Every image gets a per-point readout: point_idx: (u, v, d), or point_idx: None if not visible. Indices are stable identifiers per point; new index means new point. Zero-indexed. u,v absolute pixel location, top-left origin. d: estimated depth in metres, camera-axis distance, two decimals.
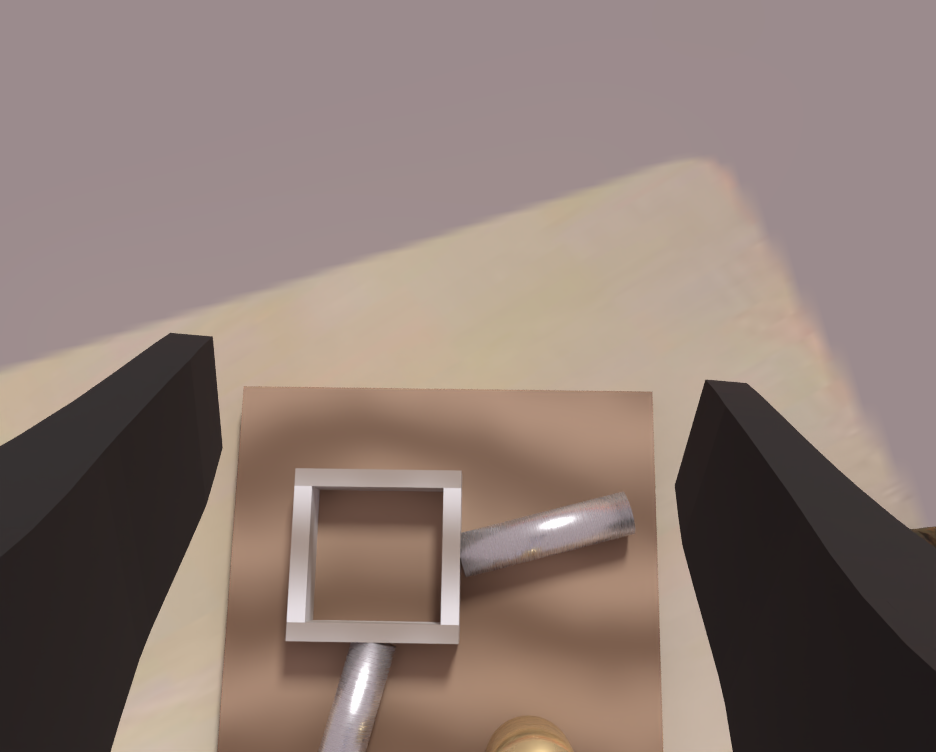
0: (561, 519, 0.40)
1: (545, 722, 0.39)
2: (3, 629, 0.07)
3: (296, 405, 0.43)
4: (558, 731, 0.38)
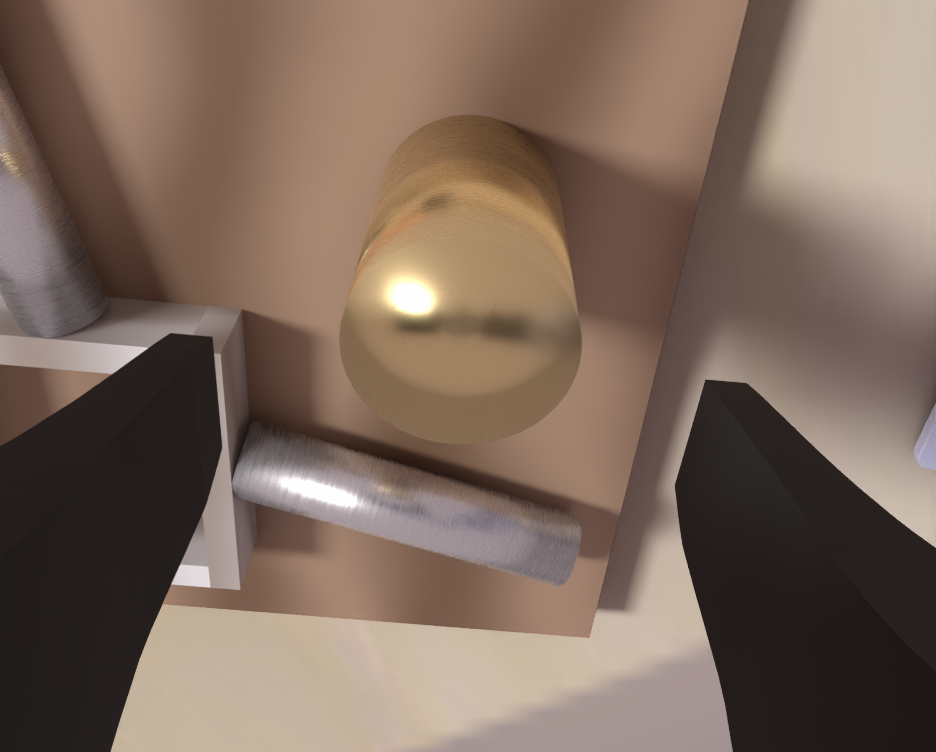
0: None
1: (380, 187, 0.18)
2: (2, 629, 0.07)
3: None
4: (391, 174, 0.17)
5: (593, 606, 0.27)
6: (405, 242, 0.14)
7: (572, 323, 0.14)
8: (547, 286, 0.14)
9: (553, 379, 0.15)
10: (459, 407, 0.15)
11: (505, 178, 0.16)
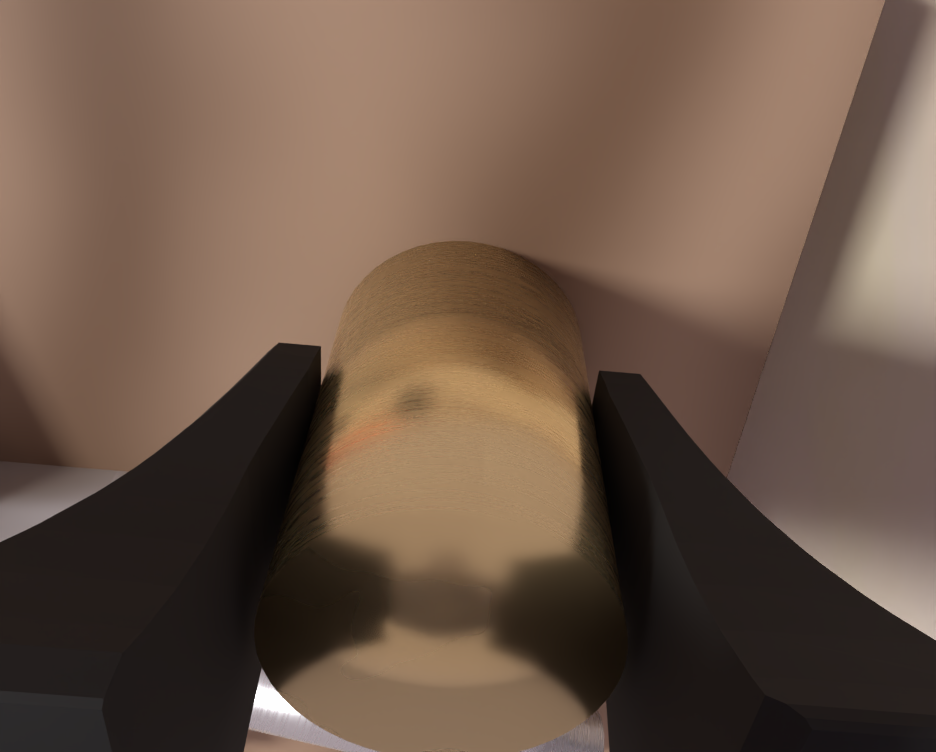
0: None
1: (334, 343, 0.13)
2: (186, 643, 0.07)
3: None
4: (347, 334, 0.12)
5: None
6: (351, 509, 0.09)
7: (614, 622, 0.09)
8: (577, 577, 0.09)
9: (582, 688, 0.10)
10: (440, 718, 0.10)
11: (508, 364, 0.11)
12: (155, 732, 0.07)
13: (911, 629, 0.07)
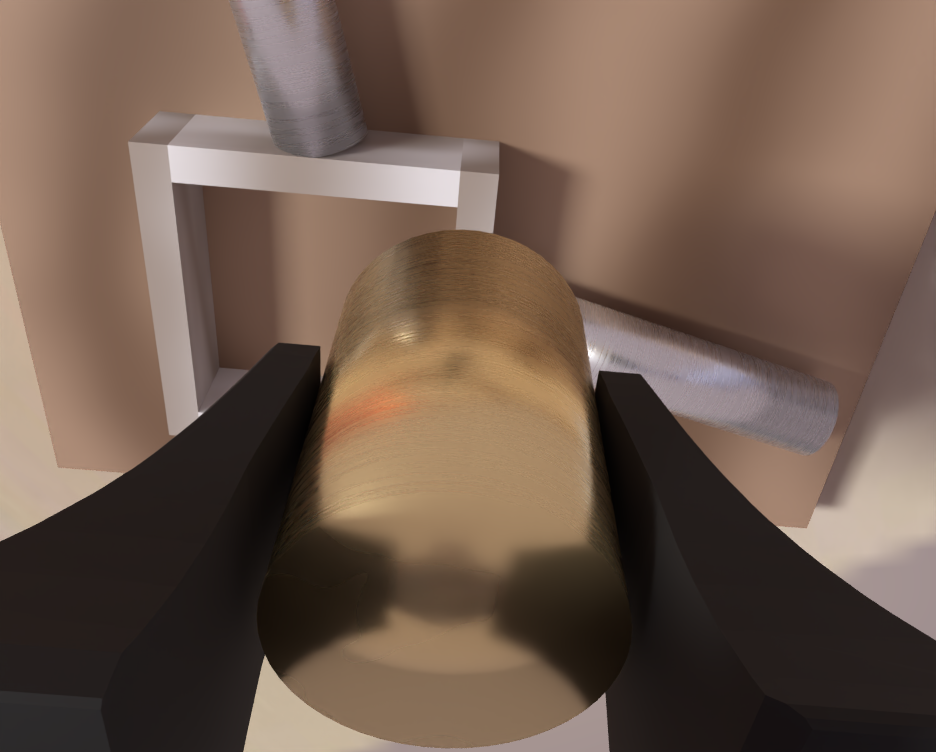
0: None
1: (339, 326, 0.13)
2: (186, 643, 0.07)
3: (74, 395, 0.24)
4: (354, 317, 0.12)
5: (817, 491, 0.25)
6: (364, 490, 0.09)
7: (619, 613, 0.09)
8: (587, 566, 0.09)
9: (582, 678, 0.10)
10: (438, 705, 0.10)
11: (519, 353, 0.11)
12: (154, 732, 0.07)
13: (911, 629, 0.07)
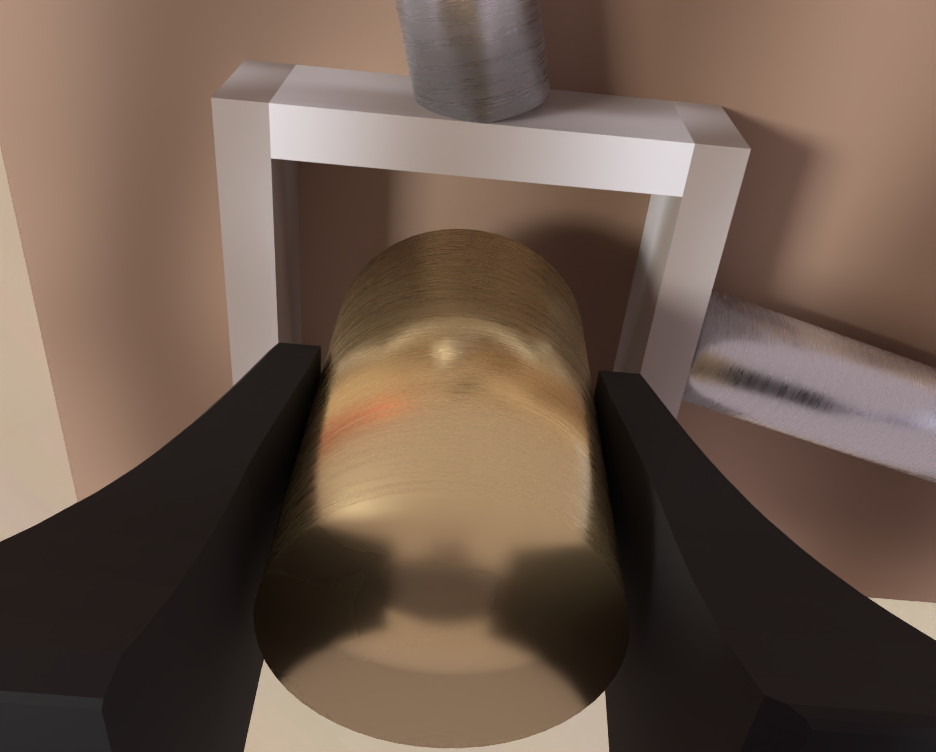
0: None
1: (337, 324, 0.13)
2: (186, 643, 0.07)
3: (109, 444, 0.18)
4: (353, 315, 0.12)
5: None
6: (363, 488, 0.09)
7: (617, 615, 0.09)
8: (585, 566, 0.09)
9: (579, 679, 0.10)
10: (434, 705, 0.10)
11: (518, 353, 0.11)
12: (155, 732, 0.07)
13: (911, 629, 0.07)
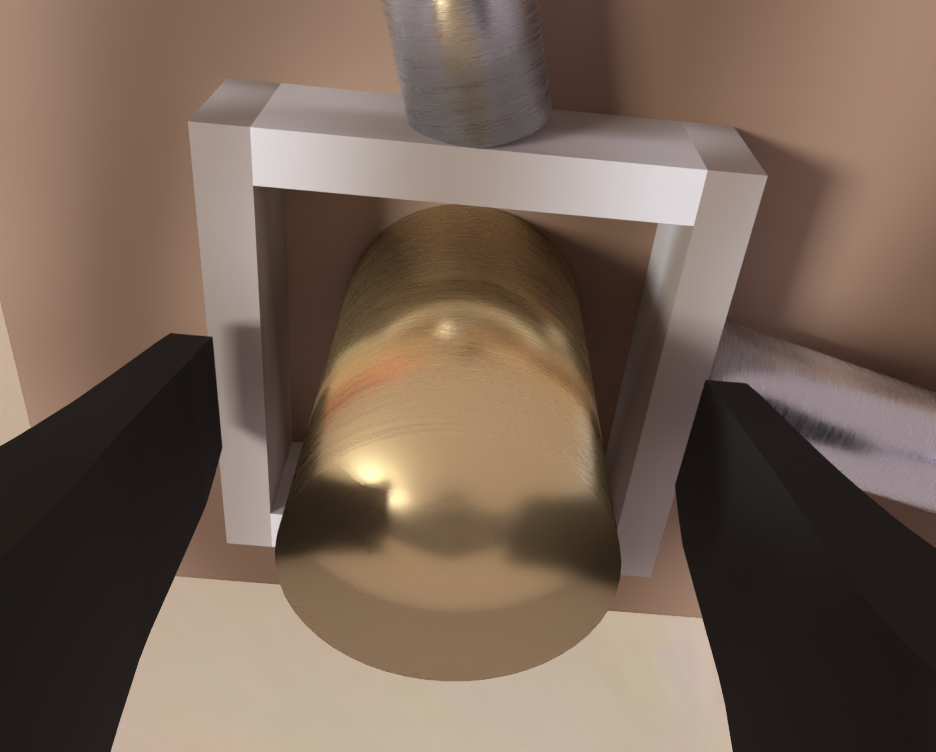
0: None
1: (347, 293, 0.14)
2: (3, 629, 0.07)
3: None
4: (363, 284, 0.13)
5: None
6: (377, 430, 0.09)
7: (610, 549, 0.10)
8: (580, 504, 0.10)
9: (575, 613, 0.11)
10: (441, 638, 0.11)
11: (518, 315, 0.11)
12: None
13: None
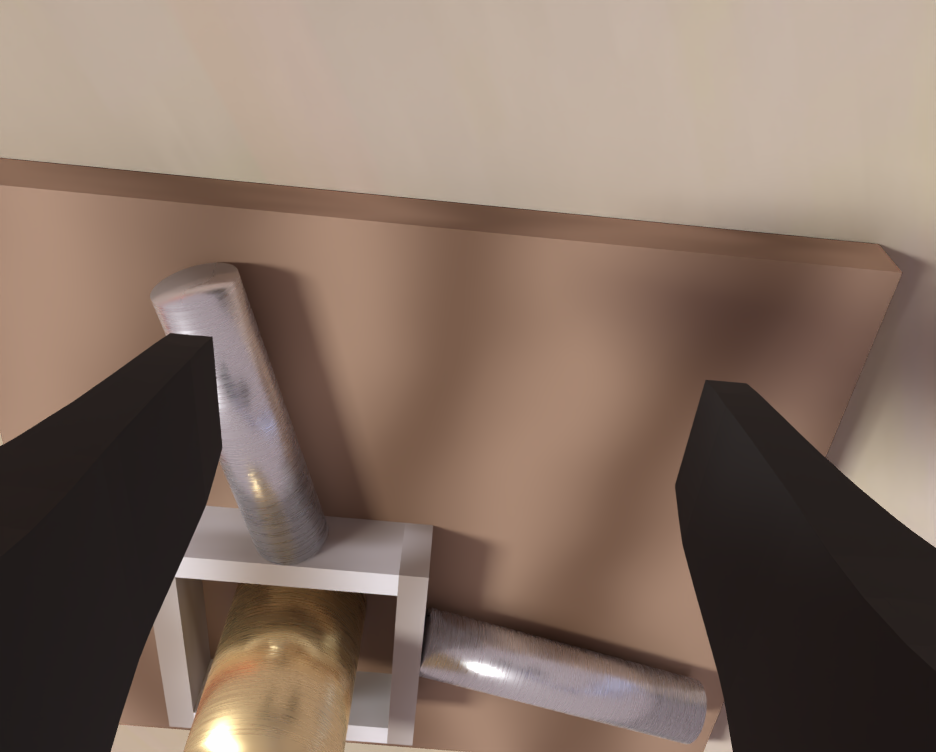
0: None
1: (231, 605, 0.26)
2: (3, 629, 0.07)
3: None
4: (236, 609, 0.25)
5: (702, 745, 0.31)
6: (219, 730, 0.21)
7: None
8: None
9: None
10: None
11: (304, 646, 0.23)
12: None
13: None
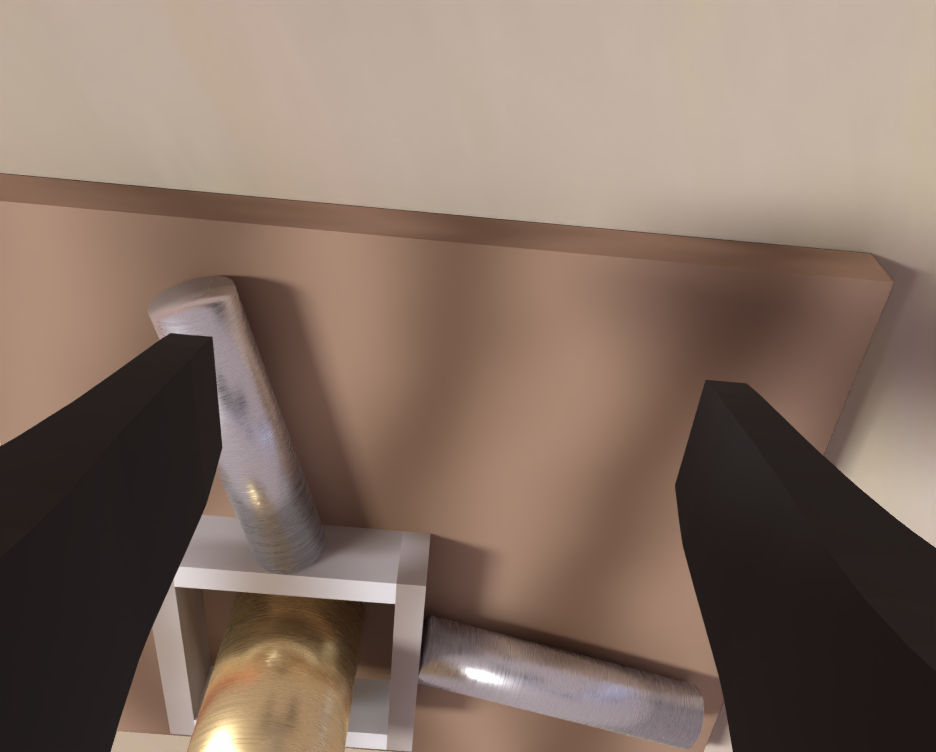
0: None
1: (231, 614, 0.26)
2: (2, 629, 0.07)
3: None
4: (235, 618, 0.25)
5: (700, 750, 0.31)
6: (219, 739, 0.21)
7: None
8: None
9: None
10: None
11: (303, 656, 0.23)
12: None
13: None
